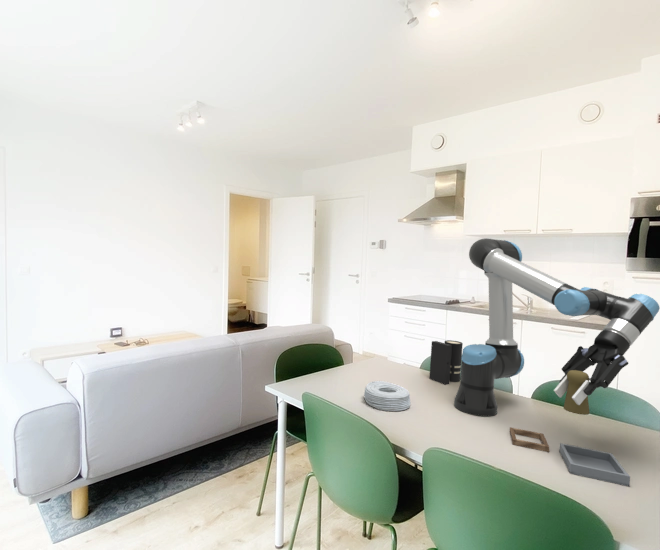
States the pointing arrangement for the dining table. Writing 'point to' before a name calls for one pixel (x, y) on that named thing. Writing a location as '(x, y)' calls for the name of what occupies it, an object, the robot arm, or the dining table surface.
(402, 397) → the cable
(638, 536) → the dining table surface
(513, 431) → the socket holder
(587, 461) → the tray
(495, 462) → the dining table surface
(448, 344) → the light fixture
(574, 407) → the cork
